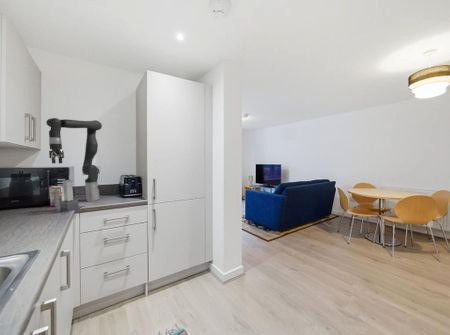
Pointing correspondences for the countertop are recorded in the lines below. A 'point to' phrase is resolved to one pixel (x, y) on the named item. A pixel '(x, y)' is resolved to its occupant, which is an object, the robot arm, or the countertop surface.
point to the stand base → (69, 206)
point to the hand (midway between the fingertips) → (57, 163)
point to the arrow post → (57, 201)
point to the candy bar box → (51, 192)
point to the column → (68, 190)
